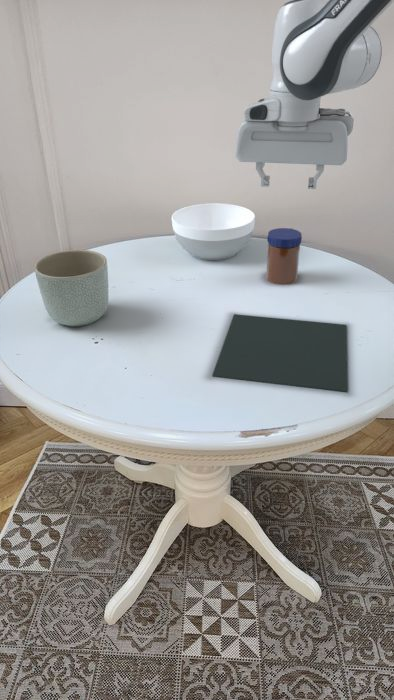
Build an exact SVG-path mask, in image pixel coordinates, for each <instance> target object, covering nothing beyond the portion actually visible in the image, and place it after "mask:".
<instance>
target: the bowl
mask: <svg viewBox="0 0 394 700" xmlns="http://www.w3.org/2000/svg"><path fill="white" fill-rule="evenodd" d="M255 223H256V215H255V213H254V212H253V211H252V210H251V209H249V208H248V207H247V208H246V207H244V206H241V205H236V204H231V203H222V202H221V203H220V202H219V203H216V202H214V203H213V202H212V203H211V202H210V203H199V204H197V203H196V204H191V205H188V206H185V207H182V208H179V209H177V210H175V211H174V212H173V213H172V215H171V224H172V230H173V234H174V236H175V240H176V241H177V242H178V244H179V245H180V246H181V247H182V249H183V250H185V251H186V252H188V253H189V254H190V255H191V256H192V257H194V258H196V259H199V260H204V261H223V260H227V259H231V258H232V257H235V255H237V253H239V252H240V251H242V250H243V249H244V248H245V247H246V246H247V244H248V243H249V242H250V241H251V238H252V235H253V232H254V229H255Z"/></svg>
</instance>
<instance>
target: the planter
mask: <svg viewBox="0 0 394 700" xmlns="http://www.w3.org/2000/svg"><path fill="white" fill-rule="evenodd" d="M108 269H109V268H108V260H107V257H106V256H105V255H104V254H103V253H101V252H99V251H98V252H97V251H94V250H88V249H69V250H62V251H58V252H57V251H56V252H54V253H50V254H48V255H46V256H43V257H42V258H40V259H39V260H37V261H36V263H35V264H34V273H35V277H36V281H37V286H38V289H39V293H40V296H41V299H42V303H43V305H44V308H45V311H46V313H47V315H48V316H49V317H50V318H51V319H52V320H53V321H54V322H55V323H57V324H59V325H60V324H61V325H62V326H67V327H75V328H76V327H83V326H87V325H90V324H93V323H94V322H96V321H98V320H100V318H101V317H103V316H104V315H105V313H106V312H107V310H108V306H109V296H110V295H109V291H110V290H109V270H108Z"/></svg>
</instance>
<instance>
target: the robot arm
mask: <svg viewBox="0 0 394 700" xmlns="http://www.w3.org/2000/svg"><path fill="white" fill-rule="evenodd" d="M393 3H394V0H328V1H327V0H289V1H288V2H286V3H284V4H283V5H282V6H281V7H280V8H279V9H278V11H277V15H276V18H275V22H274V27H273V35H272V44H271V66H272V79H271V83H270V86H269V96H268V97H265V98H260V99H259V100H256V101H252V102H250V103H248V104H247V105H246V106H245V107H244V109H243V112H242V113H243V119H244V120H243V122H242V123H241V124H240V126H239V128H238V131H237V137H236V142H235V143H236V144H235V158H236V159H237V161H238V162H240V163H255V170H256V171H257V175H259V177H260V187H262V188H263V187H264V188H269V187H270V183H271V182H270V179H271V176H270V175H267V174H266V172H265V171H264V167H265V163H266V164H290V165H291V164H293V165H316V166H315V170H316V173H315V174H314V176H312V177H311V176H309V177H308V183H307V184H308V185H307V189H308V190H316V189H317V182H318V180H319V178H320V177H321V176H322V174H323V173H324V172H325V171H324V170H325V166H342V165H344V164H345V163H346V162H347V160H348V150H349V149H348V147H349V146H348V145H349V143H348V142H349V141H348V137H349V136H350V135H351V133H352V132H353V127H354V116H353V114H352V113H351V112H349V111H347V109H345V108H328V107H327V108H326V107H324V108H323V107H321V99H322V97H324V96H326V95H331V94H336V93H341V92H345V91H349V90H353V89H356V88H360V87H361V86H363V85H365V84H367V83H368V82H369V81H371V79H372V78H373V77H374V76H375V75H376V73H377V71H378V70H379V67H380V64H381V60H382V55H383V54H382V52H383V51H382V49H383V48H382V42H381V37H380V36H379V34H378V33H377V31H376V30H375V28H374V27H372V25H373V24H374V23H375V22H376V20H378V19H379V17H381V15H382V14H384V12H385V11H386V10H387V9H388V8H389V7H390V6H391V5H392V4H393Z"/></svg>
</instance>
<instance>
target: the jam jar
mask: <svg viewBox="0 0 394 700" xmlns="http://www.w3.org/2000/svg"><path fill="white" fill-rule="evenodd" d="M300 251H301V244H300V245H298V246H296V247H291V248H281V247H275V246H272V245H270V244H269V243H268V242H267V256H266V272H265V273H266V274H265V279H266V280H267V281H268V282H269V283H272V284H275V285H280V286H281V285H282V286H284V285H285V286H286V285H291V284H294V283H296V282H297V280H298V272H299V264H300V263H299V261H300V254H301V253H300Z"/></svg>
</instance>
